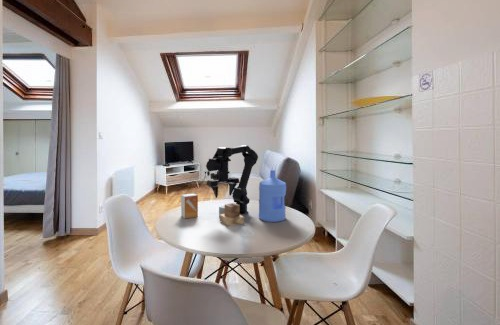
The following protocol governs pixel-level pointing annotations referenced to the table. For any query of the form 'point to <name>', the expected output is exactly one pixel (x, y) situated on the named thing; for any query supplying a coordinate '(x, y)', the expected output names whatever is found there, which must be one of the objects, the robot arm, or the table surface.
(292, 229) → the table surface
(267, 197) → the water jug
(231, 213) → the walnut cube
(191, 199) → the small box
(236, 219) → the oak slab
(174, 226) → the table surface
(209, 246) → the table surface
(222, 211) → the slate cube
